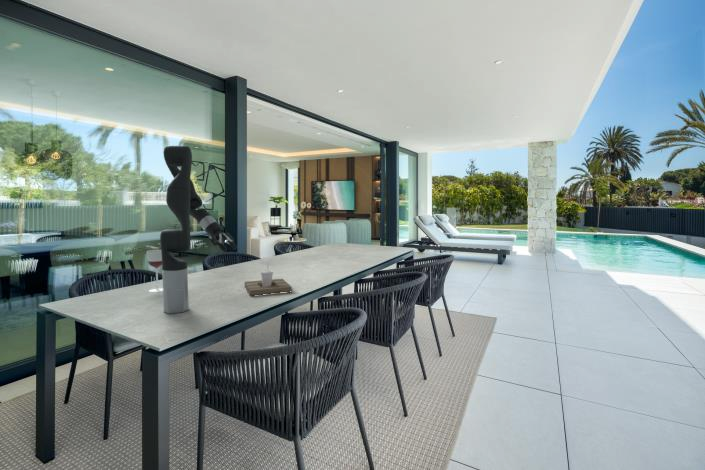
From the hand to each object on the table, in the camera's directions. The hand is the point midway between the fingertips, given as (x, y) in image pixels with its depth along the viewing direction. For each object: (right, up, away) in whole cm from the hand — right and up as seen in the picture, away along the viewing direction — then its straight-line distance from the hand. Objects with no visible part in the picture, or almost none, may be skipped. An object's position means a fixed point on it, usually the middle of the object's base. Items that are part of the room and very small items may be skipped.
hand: (230, 249), depth 180 cm
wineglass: (-36, -21, -1) cm, 42 cm away
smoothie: (+18, -21, +1) cm, 28 cm away
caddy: (+18, -21, +1) cm, 28 cm away
